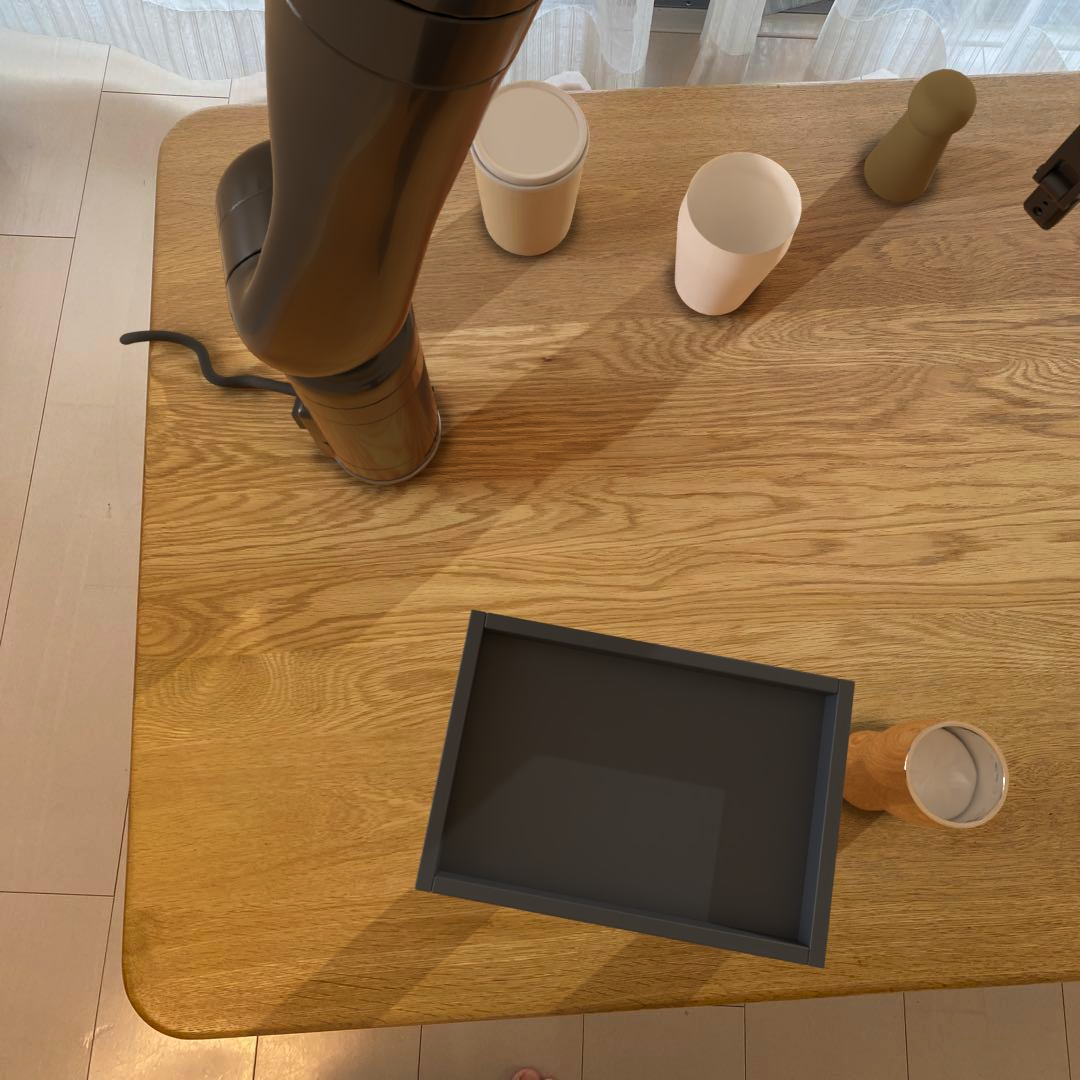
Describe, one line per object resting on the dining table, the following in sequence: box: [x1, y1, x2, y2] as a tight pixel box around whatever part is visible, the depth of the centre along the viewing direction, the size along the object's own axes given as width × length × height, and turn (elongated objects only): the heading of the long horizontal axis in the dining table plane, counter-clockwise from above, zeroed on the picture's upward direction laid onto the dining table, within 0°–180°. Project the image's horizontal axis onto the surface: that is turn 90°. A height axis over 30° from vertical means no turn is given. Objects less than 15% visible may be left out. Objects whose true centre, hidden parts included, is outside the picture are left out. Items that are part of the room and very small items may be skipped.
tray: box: [414, 609, 856, 969], centre depth 59 cm, size 20×14×28 cm
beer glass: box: [843, 718, 1010, 829], centre depth 65 cm, size 7×7×15 cm
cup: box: [674, 151, 803, 316], centre depth 76 cm, size 9×9×12 cm
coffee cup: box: [469, 79, 591, 257], centre depth 77 cm, size 9×9×12 cm
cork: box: [863, 68, 978, 203], centre depth 79 cm, size 6×6×11 cm
